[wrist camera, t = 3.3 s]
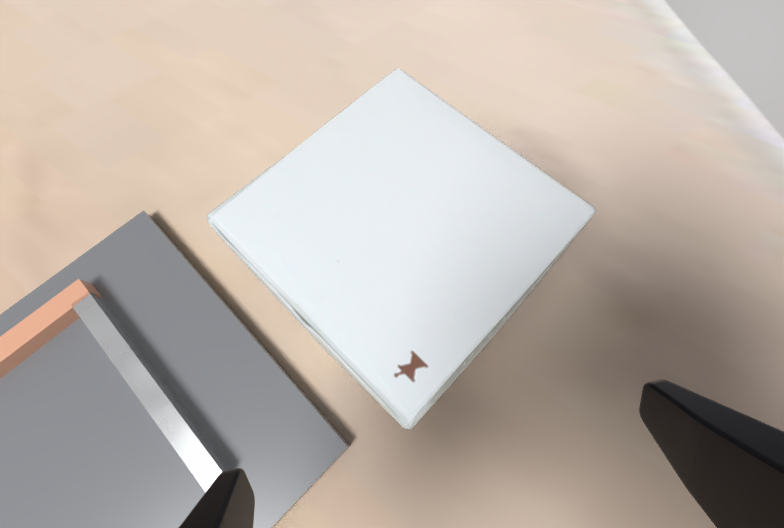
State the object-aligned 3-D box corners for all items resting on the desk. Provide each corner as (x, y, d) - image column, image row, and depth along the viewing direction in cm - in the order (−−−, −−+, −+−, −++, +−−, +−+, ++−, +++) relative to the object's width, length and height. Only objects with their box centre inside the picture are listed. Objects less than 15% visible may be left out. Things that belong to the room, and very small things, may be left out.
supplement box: (494, 322, 21) (614, 212, 10) (399, 426, 20) (404, 446, 8) (398, 236, 23) (400, 56, 12) (304, 323, 22) (192, 215, 10)
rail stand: (349, 445, 19) (345, 448, 18) (-105, 925, 14) (-173, 995, 12) (151, 217, 24) (132, 202, 22) (-247, 509, 19) (-311, 518, 17)
